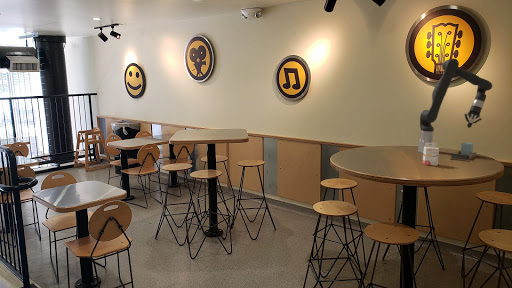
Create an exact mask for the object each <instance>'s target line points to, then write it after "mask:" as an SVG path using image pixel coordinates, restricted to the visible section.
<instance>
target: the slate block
mask: <svg viewBox="0 0 512 288" xmlns="http://www.w3.org/2000/svg"><path fill="white" fill-rule="evenodd" d="M473 149H474V142H462V143H461V147H460V151H461V154H464V155H470V154H472V153H474V152H473Z"/></svg>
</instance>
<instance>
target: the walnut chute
mask: <svg viewBox="0 0 512 288" xmlns="http://www.w3.org/2000/svg"><path fill="white" fill-rule="evenodd" d="M477 154H478V153H477V152H476V151H474V152H472V154H470V155H464V154H461V150H459V151H457V152H454V153H453V152H452V153H451V158H450V161H459V162H467V163H470V162H471V159H473V158H475V157H476V156H477Z"/></svg>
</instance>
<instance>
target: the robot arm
mask: <svg viewBox="0 0 512 288" xmlns="http://www.w3.org/2000/svg"><path fill="white" fill-rule="evenodd" d="M459 65H460V62H459V60H458V59H457V58H449V59H446V60H445V61H443V63H442V69H443V70H444V71H443V74H442V75H441V77H440V79H439V80H438V81H437V82H436V84H435V86H434V88H433V90H432V94H431V100H432V102H431V105H430V109H425V110H422V112H420V116H419V127H420V137H419V140H418V147H417V148H418V149H417V152H418V153H421V154H423V152H424V145H425V142H426V143H434V130H435V127H433V126H432V123H434V122H435V121H436V120H437V118H438V115H439V112H440V109H441V106H442V104H443V101H444V99H445V96H446V94H447V93H448V90H449V87H450V85H451V82H452V80H453V77H454V76H457V77H459V78H461V79H463V80H464V81H466V82H468V83H470V84H471V85H473V86H477V88H476V95H475V97H474V100H473V102H472V103H471V106H470V108H469V111H468V112H467V113H464V114H463V115H464V118H465V121H466V122H467V125H466V127H467V128H469V129H471V127H472V126H473V124H476V123H478V122H480V121H481V120H483V118H481V115H480V114H481V112H482V109H483V107H484V104H485V102H486V98H487V95H486V92H487V91H491V89H493V83H492V82H491V81H489V80H487V79H485V78H483V77H480V76H479V75H477V74H476V73H473V72H471V71H468V70H466V69H463V68H461V67H459ZM429 145H433V144H429Z"/></svg>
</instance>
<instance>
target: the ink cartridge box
mask: <svg viewBox="0 0 512 288" xmlns="http://www.w3.org/2000/svg"><path fill="white" fill-rule="evenodd" d="M429 144H433V145H429ZM439 154H440V148H439V147H438V143H437V142H433V143H426V142H425V145H424V152H423V153H422V164H423V165H424V166H439V165H438V163H439V157H440V155H439Z"/></svg>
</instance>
